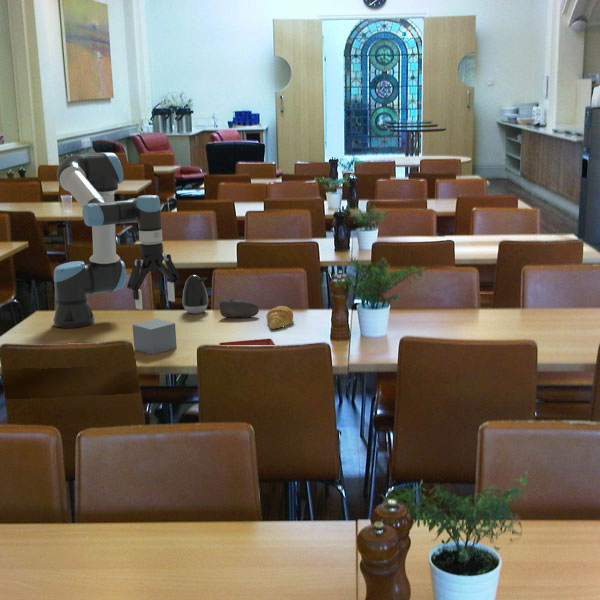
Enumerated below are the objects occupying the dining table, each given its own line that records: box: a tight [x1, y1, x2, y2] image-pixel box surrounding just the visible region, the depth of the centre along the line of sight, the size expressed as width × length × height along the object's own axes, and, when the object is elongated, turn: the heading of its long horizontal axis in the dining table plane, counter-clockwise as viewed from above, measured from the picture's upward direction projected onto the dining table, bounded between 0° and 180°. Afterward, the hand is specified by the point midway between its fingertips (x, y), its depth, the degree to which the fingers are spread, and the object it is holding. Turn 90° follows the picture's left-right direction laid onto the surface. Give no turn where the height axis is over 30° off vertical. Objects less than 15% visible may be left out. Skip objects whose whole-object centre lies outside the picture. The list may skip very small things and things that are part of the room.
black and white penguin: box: [182, 274, 209, 315], centre depth 344 cm, size 10×10×15 cm
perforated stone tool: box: [219, 299, 259, 319], centre depth 335 cm, size 15×5×7 cm, turn 84°
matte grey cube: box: [132, 318, 178, 356], centre depth 296 cm, size 10×10×9 cm
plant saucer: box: [218, 338, 276, 346], centre depth 286 cm, size 18×18×3 cm
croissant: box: [266, 305, 294, 330], centre depth 325 cm, size 21×10×8 cm, turn 166°
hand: (155, 304), depth 293 cm, fingers open, 13 cm apart
